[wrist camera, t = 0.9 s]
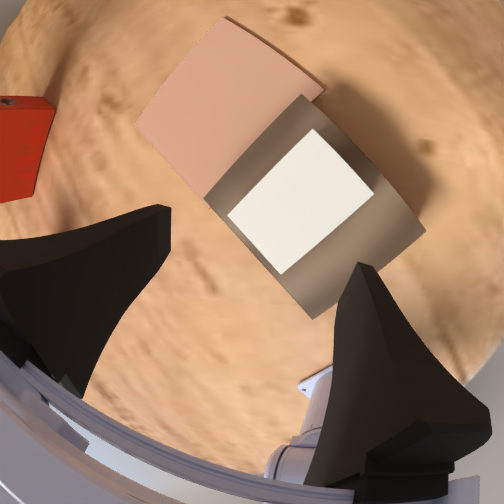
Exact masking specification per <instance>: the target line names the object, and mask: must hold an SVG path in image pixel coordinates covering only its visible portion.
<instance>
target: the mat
mask: <svg viewBox="0 0 504 504" xmlns="http://www.w3.org/2000/svg"><path fill="white" fill-rule="evenodd" d="M322 92H324V89H323V88H322V87H321V86H319V85H318V84H317V83H316V82H315V81H313V80H312V79H311V78H310V77H309V76H307V75H306V74H305V73H304V72H302V71H301V70H300V69H299V68H297V67H296V66H295V65H293V64H292V63H291V62H289V61H288V60H287V59H286V58H284V57H283V56H281V55H280V54H279V53H277V52H276V51H275V50H273V49H272V48H270V47H269V46H267V45H266V44H265V43H263V42H262V41H260V40H259V39H257V38H256V37H254V36H253V35H251V34H249V33H248V32H246V31H245V30H243V29H241V28H240V27H238V26H237V25H235V24H233V23H232V22H230V21H228V20H226V19H225V18H223V17H222V18H221V19H220V20H219V21H218V22H217V23H216V24H215V25H214V26H213V27H212V28H211V29H210V30H209V31H208V32H207V33H206V34H205V35H204V36H203V37H202V38H201V39H200V41H199V42H198V43H197V44H196V45H195V46H194V47H193V48H192V49H191V51H190V52H189V53H188V54H187V55H186V56H185V58H184V59H183V60H182V61H181V62H180V63H179V65H178V66H177V67H176V68H175V70H174V71H173V72H172V73H171V75H170V76H169V77H168V78H167V80H166V81H165V82H164V84H163V85H162V86H161V88H160V89H159V90H158V92H157V93H156V94H155V96H154V97H153V98H152V100H151V101H150V103H149V104H148V105H147V107H146V108H145V110H144V111H143V113H142V114H141V116H140V117H139V118H138V120H137V121H136V123H135V125H134V126H135V127H136V128H137V129H138V130H139V132H140V133H141V134H142V135H143V136H144V137H145V138H146V139H147V140H148V142H149V143H150V144H151V145H152V146H153V147H154V148H155V149H156V151H157V152H158V153H159V154H160V155H161V156H162V157H163V158H164V159H165V161H166V162H167V163H168V164H169V165H170V166H171V167H172V168H173V169H174V171H175V172H176V173H177V174H178V175H179V176H180V177H181V178H182V180H183V181H184V182H185V183H186V184H187V185H188V186H189V187H190V188H191V190H192V191H193V192H194V193H195V194H196V195H197V196H198V197H199V198H200V200H201V201H202V202H203V203H204V204H205V205H206V206H207V207H208V208H209V209H210V208H211V207H210V206H209V205H208V203H207V202H206V201H205V200H204V199H203V198H204V197H205V196H206V194H207V193H208V192H209V191H210V190H211V189H212V187H213V186H214V185H215V184H216V183H217V182H218V181H219V179H220V178H221V177H222V176H223V175H224V174H225V173H226V172H227V170H228V169H229V168H230V167H231V166H232V165H233V164H234V163H235V162H236V160H237V159H238V158H239V157H240V156H241V155H242V154H243V153H244V152H245V151H246V150H247V148H248V147H249V146H250V145H251V144H252V143H253V142H254V141H255V140H256V139H257V138H258V137H259V136H260V135H261V134H262V133H263V132H264V130H265V129H266V128H267V127H268V126H269V125H270V124H271V123H272V122H273V121H274V120H275V119H276V118H277V117H278V116H279V115H280V114H281V113H282V112H283V111H284V110H285V109H286V108H287V107H288V106H289V105H290V104H291V103H292V102H293V101H294V100H295V99H296V98H297V97H298V96H299V95H300V94H303V95H304V96H305V97H306V98H307V99H308V100H309V101H311V102H313V101H314V100H315V99H316V98H317V97H318V96H319V95H320V94H321V93H322Z"/></svg>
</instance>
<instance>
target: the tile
mask: <svg viewBox="0 0 504 504" xmlns="http://www.w3.org/2000/svg"><path fill="white" fill-rule="evenodd" d="M373 195H374V193H373V192H372V191H371V190H370V189H369V187H368V186H367V185H366V184H365V183H364V182H363V181H362V179H361V178H360V177H359V176H358V175H357V174H356V173H355V172H354V171H353V169H352V168H351V167H350V166H349V165H348V164H347V163H346V162H345V161H344V160H343V159H342V158H341V157H340V156H339V155H338V154H337V152H336V151H335V150H334V149H333V148H332V147H331V146H330V145H329V144H328V143H327V142H326V141H325V140H324V139H323V138H322V137H321V136H320V135H319V134H318V133H317V132H316V131H315V130H313V129H312V130H311V131H310V132H309V133H308V134H307V135H306V136H305V137H304V138H303V139H302V140H300V141H299V142H298V143H297V144H296V145H295V146H294V147H293V148H292V149H291V150H290V151H289V152H288V153H287V154H286V155H285V156H284V157H283V158H282V159H281V160H280V161H279V162H278V163H277V164H276V165H275V166H274V167H273V168H272V169H271V170H270V171H269V172H268V173H267V175H266V176H265V177H264V178H263V179H262V180H261V181H260V182H259V183H258V184H257V185H256V186H255V187H254V188H253V189H252V190H251V191H250V192H249V193H248V194H247V195H246V196H245V197H244V198H243V199H242V200H241V201H240V202H239V204H238V205H237V206H236V207H235V208H234V209H233V210H232V211H231V212H230V213H229V214H228V215H227V216H228V217H229V218H230V219H231V220H232V221H233V222H234V224H235V225H236V226H237V227H238V228H239V229H240V230H241V231H242V232H243V234H244V235H245V236H246V237H247V238H248V239H249V240H250V241H251V242H252V243H253V245H254V246H255V247H256V248H257V249H258V250H259V251H260V252H261V253H262V254H263V256H264V257H265V258H266V259H267V260H268V261H269V262H270V263H271V264H272V266H273V267H274V268H275V269H276V270H277V271H278V272H279V273H280V274H282V273H284V272H285V271H286V270H287V269H288V268H290V267H291V266H292V265H293V264H294V263H296V262H297V261H298V260H299V259H300V258H301V257H303V256H304V255H305V254H306V253H307V252H309V251H310V250H311V249H312V248H313V247H314V246H316V245H317V244H318V243H319V242H320V241H321V240H323V239H324V238H325V237H326V236H327V235H328V234H330V233H331V232H332V231H333V230H334V229H335V228H336V227H338V226H339V225H340V224H341V223H342V222H343V221H344V220H346V219H347V218H348V217H349V216H350V215H351V214H352V213H353V212H355V211H356V210H357V209H358V208H359V207H360V206H361V205H362V204H364V203H365V202H366V201H367V200H368V199H369V198H370V197H371V196H373Z"/></svg>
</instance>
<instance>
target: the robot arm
mask: <svg viewBox="0 0 504 504" xmlns="http://www.w3.org/2000/svg"><path fill="white" fill-rule="evenodd" d="M170 251H171V207H167V206H163V205H160V204H156V205H151V206H148V207H144V208H141V209H138V210H135V211H132V212H129V213H126V214H123V215H120V216H117V217H114V218H111V219H108V220H105V221H102V222H99V223H96V224H93V225H89V226H86V227H83V228H79V229H75V230H71V231H67V232H63V233H58V234H52V235H47V236H42V237H35V238H28V239H17V240H0V504H185V503H183V502H180V501H178V500H175V499H173V498H170V497H167V496H165V495H163V494H161V493H158V492H156V491H153V490H151V489H149V488H147V487H145V486H143V485H141V484H139V483H137V482H135V481H133V480H131V479H129V478H127V477H125V476H123V475H121V474H119V473H117V472H116V471H114V470H112V469H110V468H109V467H107V466H105V465H103V464H101V463H100V462H98V461H97V460H95V459H94V458H92V457H90V456H89V455H87V454H86V453H85V450H86V449H87V447H88V445H89V441H87V440H86V439H85V438H83V437H82V436H81V435H80V434H79V433H77V432H76V431H75V430H74V429H73V428H72V427H71V426H70V425H69V424H68V423H67V422H66V421H65V420H64V419H63V418H62V417H60V416H59V415H58V414H57V413H56V412H54V411H53V410H52V409H51V408H50V407H49V403H50V404H51V405H52V406H53V407H55V408H56V409H58V410H59V411H60V412H62V413H63V414H64V415H66V416H67V417H69V418H70V419H71V420H73V421H74V422H76V423H77V424H79V425H80V426H82V427H83V428H85V429H86V430H88V431H89V432H91V433H92V434H94V435H96V436H97V437H99V438H101V439H102V440H104V441H106V442H107V443H109V444H111V445H113V446H115V447H116V448H118V449H120V450H122V451H124V452H125V453H127V454H129V455H131V456H133V457H135V458H137V459H139V460H141V461H143V462H145V463H147V464H150V465H152V466H154V467H156V468H158V469H161V470H163V471H165V472H168V473H170V474H173V475H175V476H177V477H180V478H183V479H185V480H188V481H191V482H193V483H196V484H199V485H202V486H205V487H208V488H211V489H214V490H218V491H221V492H224V493H228V494H231V495H235V496H239V497H243V498H247V499H251V500H255V501H260V502H264V504H479V496H480V476H478V475H476V476H472V477H466V478H460V479H455V480H452V481H449V482H448V474H450V473H453V471H454V470H455V467H454V462H455V461H457V460H459V459H461V458H462V457H464V456H466V455H468V454H470V453H471V452H473V451H475V450H476V449H478V448H479V447H481V446H482V445H484V444H485V443H486V442H487V441H488V440H489V438H490V437H491V435H492V427H491V419H490V413H489V409H488V408H487V407H486V406H485V405H484V404H483V403H482V402H480V401H479V400H478V399H477V398H476V397H474V396H473V395H472V394H471V393H470V392H468V391H467V390H466V389H465V388H464V387H463V386H462V385H461V384H460V383H459V382H458V381H457V380H456V379H455V378H454V377H453V376H452V375H451V374H450V373H449V372H448V371H447V370H446V369H445V368H444V367H443V365H442V364H441V363H440V362H439V361H438V360H437V359H436V358H435V356H434V355H433V354H432V353H431V352H430V350H429V349H428V348H427V347H426V345H425V344H424V343H423V341H422V340H421V339H420V338H419V336H418V335H417V334H416V332H415V331H414V329H413V328H412V327H411V325H410V324H409V322H408V321H407V319H406V318H405V316H404V315H403V313H402V312H401V310H400V309H399V307H398V305H397V304H396V302H395V301H394V299H393V297H392V296H391V294H390V292H389V291H388V289H387V287H386V286H385V284H384V283H383V281H382V279H381V278H380V276H379V275H378V273H377V271H376V270H375V269H374V267H373V266H371V265H368V264H365V263H361V262H358V261H357V264H356V266H355V268H354V270H353V272H352V274H351V276H350V279H349V281H348V283H347V285H346V287H345V289H344V291H343V293H342V295H341V297H340V299H339V301H338V306H337V312H336V318H335V326H334V351H333V365H332V366H330V367H328V368H326V369H324V370H323V371H321V372H319V373H317V374H315V375H313V376H312V377H310V378H308V379H306V380H304V381H302V382H300V383H299V384H298V386H297V387H298V389H299V390H300V391H301V392H302V393H303V394H305V395H306V396H307V397H308V398H309V399H310V401H309V404H308V408H307V411H306V414H305V418H304V421H303V424H302V427H301V431H300V434H299V436H292V439H291V442H290V445H281V446H280V447H278V448H277V450H275V451H274V452H273V453H272V455H271V456H270V458H269V460H268V462H267V465H266V468H265V473H264V477H260V476H256V475H252V474H248V473H244V472H241V471H237V470H234V469H230V468H227V467H224V466H220V465H217V464H214V463H211V462H208V461H205V460H202V459H200V458H197V457H194V456H191V455H189V454H186V453H184V452H181V451H179V450H176V449H174V448H171V447H169V446H167V445H164V444H162V443H160V442H157V441H155V440H153V439H151V438H149V437H147V436H145V435H143V434H140V433H138V432H136V431H134V430H133V429H131V428H129V427H127V426H125V425H123V424H121V423H119V422H117V421H116V420H114V419H112V418H110V417H109V416H107V415H105V414H103V413H102V412H100V411H98V410H97V409H95V408H93V407H92V406H90V405H89V404H87V403H85V402H84V401H82V400H81V399H82V398H83V396H84V393H85V390H86V388H87V385H88V382H89V380H90V377H91V375H92V372H93V370H94V368H95V365H96V363H97V361H98V359H99V357H100V355H101V353H102V351H103V349H104V347H105V345H106V343H107V341H108V339H109V337H110V336H111V334H112V332H113V330H114V329H115V327H116V325H117V324H118V322H119V320H120V319H121V317H122V315H123V314H124V313H125V311H126V310H127V309H128V307H129V306H130V305H131V303H132V302H133V301H134V300H135V298H136V297H137V296H138V295H139V294H140V292H141V291H142V290H143V289H144V287H145V286H146V285H147V284H148V283H149V281H150V280H151V279H152V278H153V277H154V275H155V274H156V273H157V272H158V270H159V269H160V267H161V266H162V264H163V263H164V261H165V259H166V258H167V256H168V254H169V253H170ZM303 388H305V389H303Z"/></svg>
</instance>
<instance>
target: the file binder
mask: <svg viewBox="0 0 504 504" xmlns="http://www.w3.org/2000/svg"><path fill="white" fill-rule="evenodd" d="M55 111H56V109H55V108H54V107H53V106H52V105H51V104H50V103H48V102H47V101H46V100H45V99H44V98H43V97H34V96H0V203H5V202H9V201H14V200H18V199H23V198H28V197H32V196H33V190H34V185H35V181H36V176H37V172H38V167H39V163H40V159H41V156H42V152H43V148H44V145H45V141H46V138H47V135H48V131H49V128H50V125H51V122H52V119H53V116H54V114H55Z"/></svg>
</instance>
